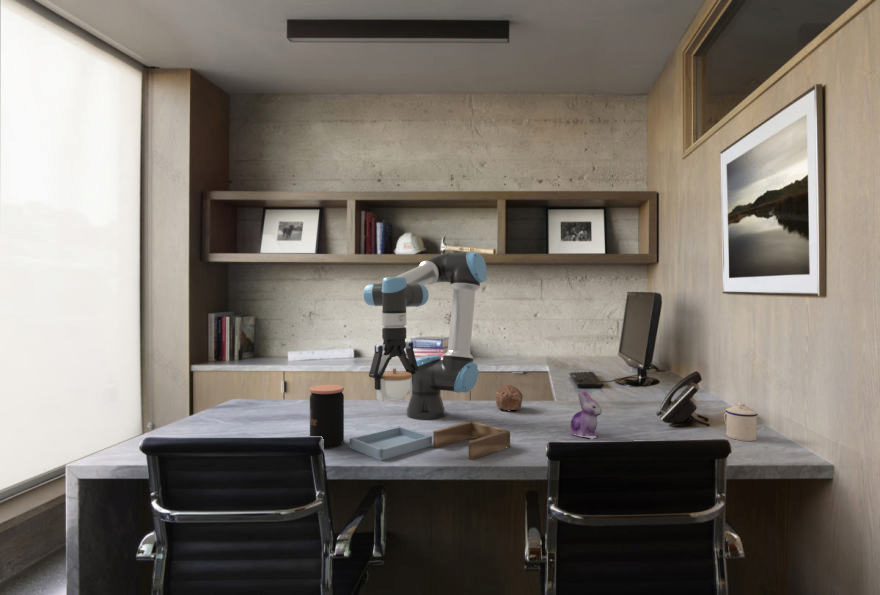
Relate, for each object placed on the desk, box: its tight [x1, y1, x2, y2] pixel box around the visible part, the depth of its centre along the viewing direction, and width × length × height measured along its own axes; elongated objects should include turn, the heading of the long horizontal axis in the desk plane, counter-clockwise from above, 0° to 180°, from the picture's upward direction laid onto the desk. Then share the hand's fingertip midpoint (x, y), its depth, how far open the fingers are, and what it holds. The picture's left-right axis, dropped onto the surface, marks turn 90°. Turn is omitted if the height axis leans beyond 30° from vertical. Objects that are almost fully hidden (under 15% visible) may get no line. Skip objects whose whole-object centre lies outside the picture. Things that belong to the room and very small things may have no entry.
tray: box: [349, 425, 433, 461], centre depth 156 cm, size 16×20×3 cm
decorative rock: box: [495, 383, 524, 411], centre depth 206 cm, size 13×11×10 cm
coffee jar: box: [309, 384, 345, 449], centre depth 159 cm, size 11×11×18 cm
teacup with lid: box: [723, 401, 758, 442], centre depth 168 cm, size 12×9×12 cm
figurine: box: [570, 389, 603, 436], centre depth 169 cm, size 9×10×15 cm
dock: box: [432, 420, 511, 461], centre depth 156 cm, size 16×18×5 cm
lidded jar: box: [381, 368, 412, 402], centre depth 156 cm, size 11×11×9 cm
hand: (394, 397), depth 156 cm, fingers closed on lidded jar, 11 cm apart
